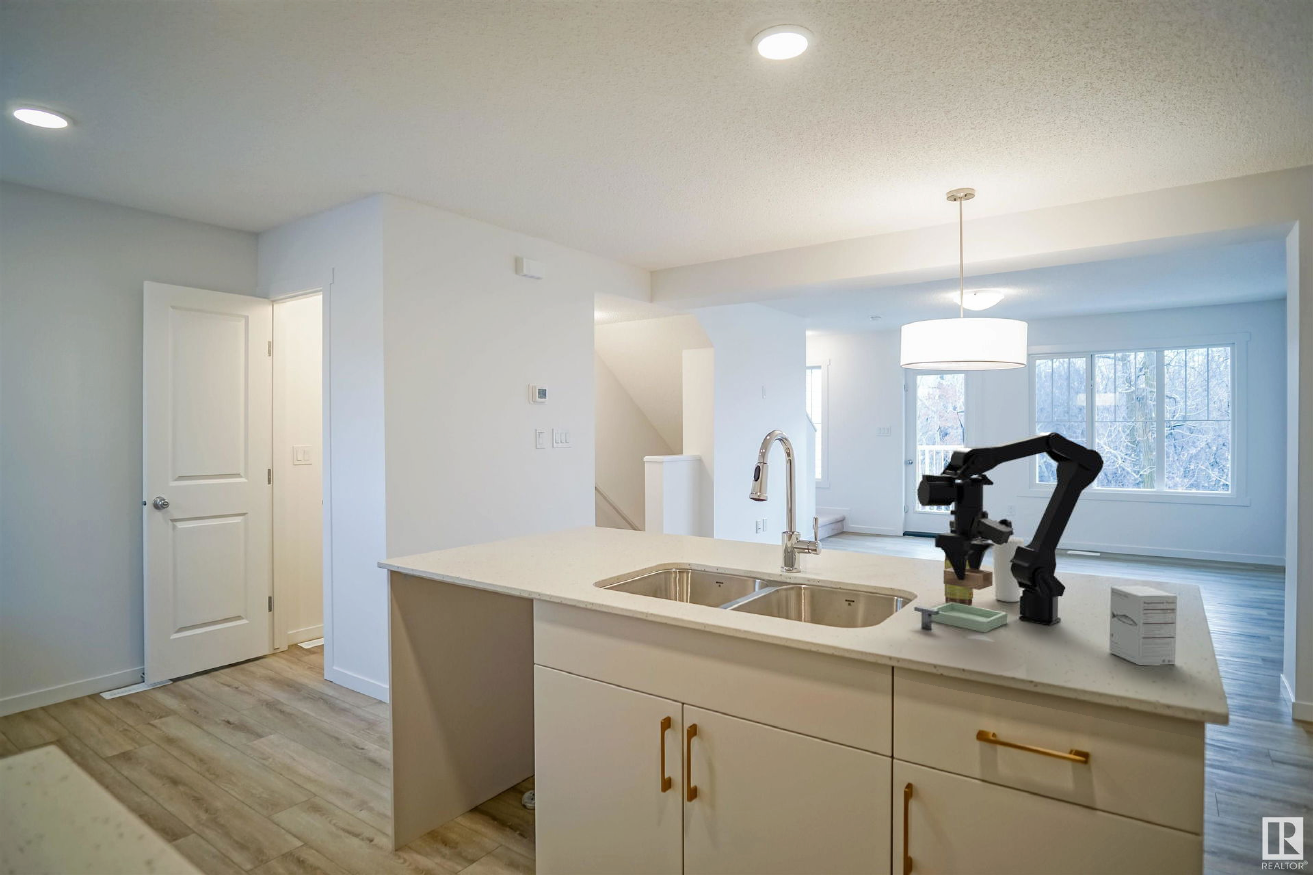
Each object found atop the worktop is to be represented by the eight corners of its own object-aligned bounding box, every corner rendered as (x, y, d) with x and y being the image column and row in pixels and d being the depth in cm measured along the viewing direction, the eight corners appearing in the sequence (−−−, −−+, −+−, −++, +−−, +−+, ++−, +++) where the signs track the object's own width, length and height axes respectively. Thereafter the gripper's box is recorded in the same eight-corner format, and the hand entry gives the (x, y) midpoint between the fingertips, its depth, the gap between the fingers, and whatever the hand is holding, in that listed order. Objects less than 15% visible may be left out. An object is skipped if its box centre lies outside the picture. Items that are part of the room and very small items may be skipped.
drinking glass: (993, 601, 168) (993, 539, 168) (991, 595, 174) (991, 535, 174) (1024, 604, 165) (1025, 541, 165) (1021, 598, 172) (1022, 537, 171)
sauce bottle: (975, 608, 162) (977, 523, 161) (947, 606, 163) (948, 522, 163) (969, 601, 168) (970, 519, 168) (941, 599, 169) (942, 518, 169)
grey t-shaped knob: (939, 630, 144) (939, 609, 144) (934, 631, 143) (934, 611, 143) (918, 625, 148) (918, 605, 148) (913, 626, 146) (913, 607, 146)
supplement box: (1107, 652, 130) (1108, 585, 130) (1144, 651, 131) (1145, 585, 131) (1138, 666, 123) (1139, 595, 123) (1177, 665, 124) (1178, 594, 123)
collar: (943, 583, 152) (943, 569, 152) (956, 579, 156) (957, 566, 156) (979, 589, 146) (979, 575, 146) (992, 585, 150) (992, 571, 150)
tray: (1007, 622, 150) (1007, 612, 150) (984, 632, 143) (985, 622, 143) (950, 610, 159) (950, 601, 159) (927, 619, 152) (927, 609, 152)
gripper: (987, 512, 138) (986, 591, 139) (1025, 505, 151) (1024, 577, 151) (933, 507, 147) (933, 581, 147) (973, 501, 159) (973, 569, 159)
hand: (967, 577), depth 151 cm, fingers closed on collar, 6 cm apart
